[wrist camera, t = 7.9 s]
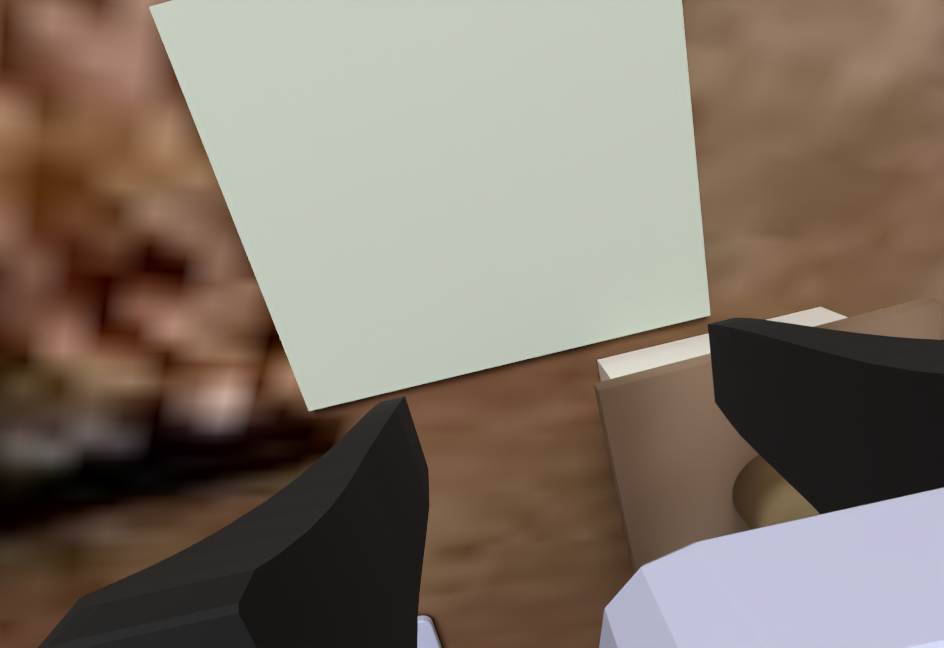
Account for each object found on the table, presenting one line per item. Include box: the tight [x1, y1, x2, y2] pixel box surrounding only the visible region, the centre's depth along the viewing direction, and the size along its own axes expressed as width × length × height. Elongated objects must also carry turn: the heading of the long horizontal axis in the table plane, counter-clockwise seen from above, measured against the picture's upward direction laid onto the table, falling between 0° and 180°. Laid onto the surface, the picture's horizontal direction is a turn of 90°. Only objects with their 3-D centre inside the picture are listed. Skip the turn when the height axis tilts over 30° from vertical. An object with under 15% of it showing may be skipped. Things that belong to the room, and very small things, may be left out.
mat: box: [149, 0, 710, 411], centre depth 19 cm, size 18×16×1 cm
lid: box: [594, 297, 942, 574], centre depth 18 cm, size 12×12×4 cm
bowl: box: [597, 307, 848, 381], centre depth 21 cm, size 10×10×4 cm
